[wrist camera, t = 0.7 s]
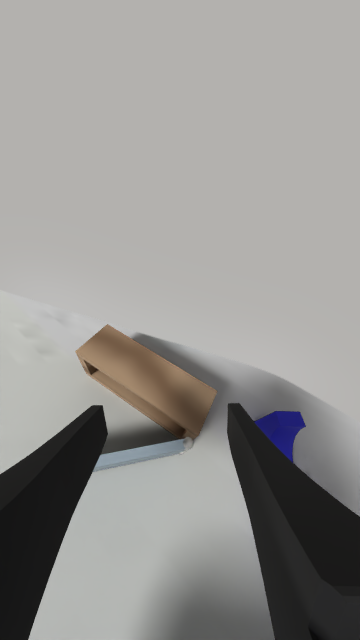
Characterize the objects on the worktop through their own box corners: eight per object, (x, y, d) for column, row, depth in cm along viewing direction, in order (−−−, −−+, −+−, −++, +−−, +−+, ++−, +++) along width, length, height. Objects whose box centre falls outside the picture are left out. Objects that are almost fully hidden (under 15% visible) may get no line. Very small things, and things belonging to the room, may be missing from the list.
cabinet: (186, 444, 22) (198, 435, 18) (86, 373, 26) (75, 351, 21) (203, 406, 25) (217, 391, 21) (112, 348, 29) (107, 324, 24)
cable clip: (328, 562, 18) (390, 589, 14) (286, 566, 17) (336, 596, 13) (281, 423, 26) (311, 411, 21) (251, 423, 25) (275, 411, 21)
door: (186, 461, 21) (196, 457, 17) (24, 496, 17) (-7, 501, 14) (183, 443, 22) (192, 436, 18) (30, 473, 18) (3, 471, 15)
